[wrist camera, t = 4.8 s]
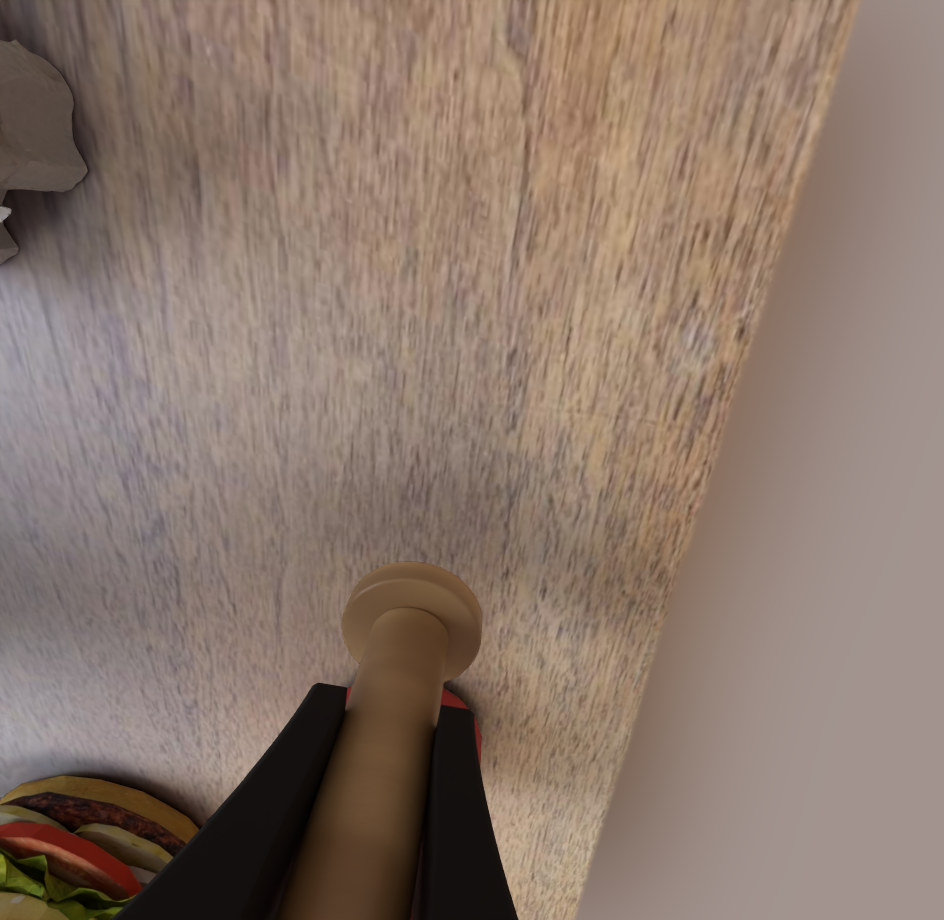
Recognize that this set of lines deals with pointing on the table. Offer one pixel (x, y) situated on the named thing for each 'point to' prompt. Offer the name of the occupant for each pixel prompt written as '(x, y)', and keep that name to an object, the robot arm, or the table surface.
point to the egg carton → (33, 131)
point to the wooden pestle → (383, 745)
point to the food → (82, 847)
